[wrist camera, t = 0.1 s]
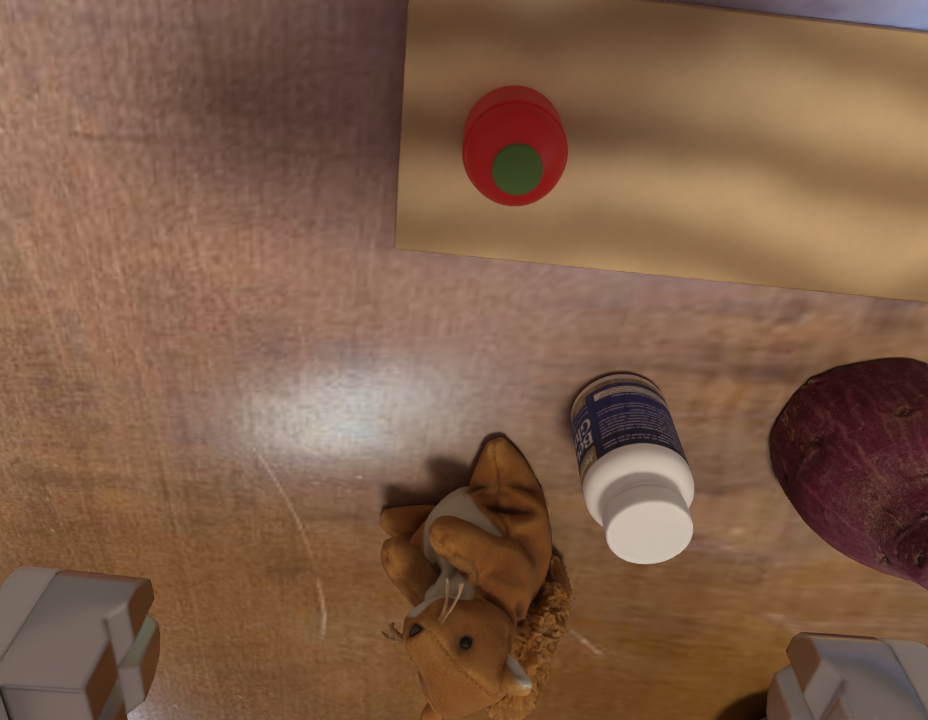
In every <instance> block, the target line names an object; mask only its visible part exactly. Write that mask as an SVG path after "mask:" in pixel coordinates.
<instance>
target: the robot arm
mask: <svg viewBox="0 0 928 720" xmlns="http://www.w3.org/2000/svg"><path fill="white" fill-rule="evenodd" d="M153 600H154V594H153V589H152V585H151V580H149V579H145V578H139V577H130V576H120V575H111V574H102V573H93V572H84V571H75V570H66V569H64V570H63V569H53V568H43V567H33V566H23V565H22V566H21V567H20V568H18V569H17V570H16V571H14V572H13V573H11V574H10V575H9V576H8V577H7V579H6V580H5V582H4V583H3V584H2V586H1V587H0V720H128V719H127V714H128V713H130V712H131V711H132V710H133V709H135V708H136V707H137V706H139V705H140V704H141V703H142V702H144V701H145V699H146V697H147V694H148V692H149V689H150V687H151V684H152V682H153V679H154V675H155V671H156V666H157V662H158V658H159V652H160V632H159V624H158V622H157V621H156V620H155V619H154V618H153V617H151V616H150V615H149V614H148V611H149V609H150V607H151V605H152V602H153ZM786 652H787V655H788V657H789V660H790V662H791V664H789V665H788V666H786V667H784V668H783V669H781V670H780V671H778V672H776V673H775V674H774V677H773V679H772V681H771V684H770V686H769V689H768V692H767V710H766V713H767V719H768V720H928V648H927V647H926V646H925V645H924V644H922V643H921V642H920V641H908V640H896V639H884V638H878V639H877V638H874V637H866V636H852V635H838V634H823V633H809V632H800V633H799V634H797V635H796V636H794V637H793V638H792V640H791V642H790V644H789V646H788V648H787V650H786Z"/></svg>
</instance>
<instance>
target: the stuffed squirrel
mask: <svg viewBox="0 0 928 720" xmlns="http://www.w3.org/2000/svg"><path fill="white" fill-rule="evenodd" d="M380 526H381V527H382V528H383V530H384V531H385V532H387V533H388V534H389V535H390V536H392V537H391V538H390V539H387V540H385V541H384V543H383V546H382V550H381V560H382V564H383V567H384V570H385V571H386V573H387V575H388V576H389V578H390V579H391V581H392V582H393V583H394V584H395V586H396V587H397V588H398V589H399V590H400V591H401V593H402V594H403V595H404V596H405V597H406V598H407V599H408V601H409V602H410V603H411V604H412V605H413V606H414V607H415V608H414V609H413V610H411V611H410V612H409V614H408V615H407V616H406V618H405V620H404V628H403V634H400V632H398V631H397V630H396V629H395V628H394V625H395V624H394V623H390V625H389V627H390V630H391V631H392V633H393V635H394V637H395V638H389V636H388V635H387V634H385V633H384V632H382V631H381V635H382V636H383V637H384V638H386V639H388V640H390V641H392V642H396V643H399V644H404V647H405V650H406V652H407V653H408V655H409V657H410V659H411V660H412V661H413V662H414V663H415V665H416V667H417V668H418V674H419V679H420V683H421V686H422V689H423V692H424V695H425V697H426V699H427V702H428V703H427V704H426V706H425V708H424V710H423V711H422V713H421V716H420V719H419V720H442V719H443V718H444V717H447V718H459V717H463V716H465V715H468V714H471V713H474V712H476V711H478V710H481V709H483V708H484V709H485V711H487V712H489V714H488V715H489V717H490V718H491V719H493V718H494V719H497V717H498V719H499V720H520V719H521V720H522V719H524V717H525V716H527V714H531V713H532V709H533V708H536V706H535V704H536V701H537V698H538V697H539V695H540V693H541V690H542V689H543V686H545V684H546V683H547V680H548V679H549V678H550V668H551V663H552V661H553V657H554V654H555V652H556V651H557V646H556V645H557V643H558V641H560V638H561V637H563V635H564V633H565V631H567V630H566V625H567V624H568V619H567V616H568V615H570V612H571V607H570V602H571V601H572V600H574V599H575V597H572V592H571V591H572V589H571V585H570V583H569V578H568V577H567V574H566V572H565V571H564V570H565V568H566V567H565V566H563V565H562V563H561V561H560V559H559V558H558V557H556V556H554V555H553V554H552V534H551V525H550V521H549V516H548V512H547V506H546V502H545V498H544V495H543V493H542V491H541V488H540V486H539V484H538V482H537V480H536V479H535V477H534V475H533V473H532V471H531V470H530V468H529V466H528V464H527V463H526V461H525V460H524V458H523V457H522V455H521V454H520V453H519V452H518V451H517V450H516V449H515V448H514V447H513V446H512V445H511V444H510V443H509V441H508V440H506V439H505V438H503V437H499V438H496V439H492V440H490V441H488V442H487V444H486V445H485V447H484V449H483V451H482V453H481V455H480V458H479V460H478V462H477V465H476V467H475V470H474V473H473V475H472V478H471V481H470V485H469V486H465V487H461V488H458V489H457V490H455V491H453V492H451V493H449V494H448V495H447V496H446V497H445V498H444V499H443V500H441V501H440V502H439V503H438V504H437V505H436V506H434V505H414V506H401V507H393V508H387V509H385V510H384V511H383V512H382V516H381V519H380Z"/></svg>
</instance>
